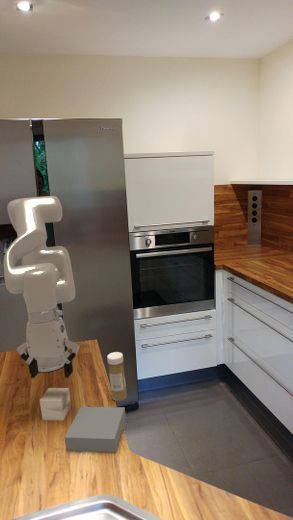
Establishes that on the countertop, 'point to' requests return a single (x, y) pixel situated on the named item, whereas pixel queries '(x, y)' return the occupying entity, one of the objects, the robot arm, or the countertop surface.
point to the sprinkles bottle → (117, 376)
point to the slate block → (96, 429)
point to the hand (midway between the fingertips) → (51, 375)
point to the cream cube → (55, 404)
